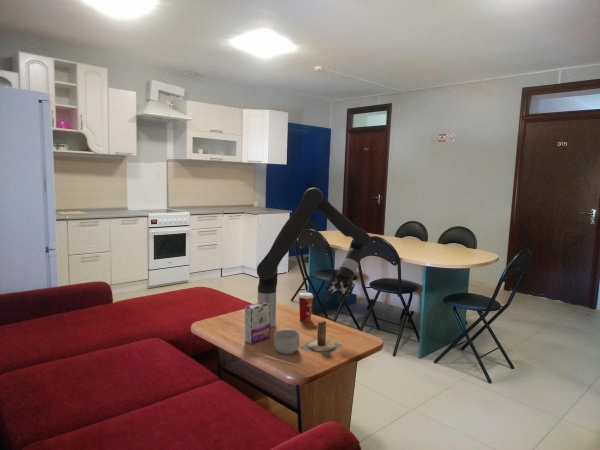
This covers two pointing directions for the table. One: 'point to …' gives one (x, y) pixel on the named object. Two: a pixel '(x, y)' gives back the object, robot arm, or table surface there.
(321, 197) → the robot arm
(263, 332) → the candy bar box
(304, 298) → the paper cup
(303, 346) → the rubber mat
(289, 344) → the teacup
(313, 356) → the table surface
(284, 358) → the table surface
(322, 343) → the oak lid
